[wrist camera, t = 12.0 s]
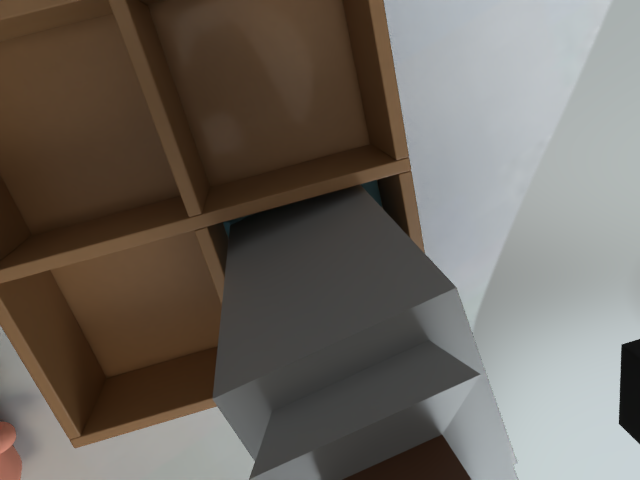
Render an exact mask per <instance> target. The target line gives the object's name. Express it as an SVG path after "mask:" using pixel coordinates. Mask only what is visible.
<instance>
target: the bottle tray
mask: <svg viewBox="0 0 640 480" xmlns="http://www.w3.org/2000/svg"><path fill="white" fill-rule="evenodd" d="M410 170H411V166H410V160H409V154H408V148H407V142H406V136H405V129H404V123H403V117H402V111H401V105H400V99H399V93H398V87H397V81H396V74H395V68H394V62H393V56H392V50H391V44H390V38H389V32H388V26H387V20H386V13H385V7H384V1H383V0H0V325H1V327H2V328H3V330H4V332H5V333H6V335H7V337H8V338H9V340H10V342H11V343H12V345H13V347H14V348H15V350H16V352H17V353H18V355H19V357H20V358H21V360H22V362H23V363H24V365H25V367H26V368H27V370H28V372H29V373H30V375H31V377H32V378H33V380H34V382H35V383H36V385H37V387H38V388H39V390H40V392H41V393H42V395H43V397H44V398H45V400H46V402H47V403H48V405H49V407H50V408H51V410H52V412H53V413H54V415H55V417H56V418H57V420H58V422H59V423H60V425H61V427H62V428H63V430H64V432H65V433H66V435H67V437H68V438H69V439H70V442H71V443H72V445H73V447H74V448H78V447H81V446H85V445H88V444H91V443H95V442H98V441H101V440H105V439H108V438H112V437H115V436H118V435H122V434H125V433H128V432H132V431H135V430H139V429H142V428H145V427H149V426H152V425H156V424H159V423H162V422H166V421H169V420H172V419H176V418H179V417H183V416H186V415H189V414H193V413H196V412H199V411H203V410H206V409H210V408H213V407H216V406H217V405H216V404H215V402H214V401H213V399H212V398H213V389H214V379H215V369H216V359H217V349H218V339H219V329H220V319H221V310H222V300H223V290H224V280H225V270H226V260H227V250H228V240H229V231H230V225H232V224H234V223H236V222H238V221H240V220H243V219H245V218H247V217H249V216H251V215H253V214H256V213H258V212H262V211H266V210H269V209H273V208H276V207H280V206H284V205H287V204H291V203H295V202H298V201H302V200H305V199H309V198H313V197H316V196H320V195H324V194H327V193H331V192H334V191H338V190H342V189H345V188H349V187H353V186H356V185H361V186H362V187H363V188H364V189H365V190H366V191H367V192H368V193H369V195H370V196H371V197H372V198H373V199H374V200H375V201H376V202H377V203H378V204H379V205H380V206H381V207H382V208H383V210H384V211H385V212H386V213H387V214H388V215H389V216H390V217H391V218H392V219H393V220H394V221H395V222H396V223H397V225H398V226H399V227H400V228H401V229H402V230H403V231H404V232H405V233H406V234H407V235H408V236H409V237H410V238H411V240H412V241H413V242H414V243H415V244H416V245H417V246H418V247H419V248H420V249H421V250H422V251H423V252H424V253H425V251H424V245H423V239H422V233H421V227H420V221H419V215H418V209H417V202H416V196H415V190H414V184H413V178H412V172H411V171H410Z"/></svg>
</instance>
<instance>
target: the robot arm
mask: <svg viewBox="0 0 640 480" xmlns="http://www.w3.org/2000/svg"><path fill="white" fill-rule="evenodd" d="M619 409H620V410H619V424H620V425H621V426H622V427H623V428H624V429H625V430H626V431H627V432H628V433H629V434H630V435H631V436H632V437H633V438H634V439H635V440H636V441H637V442H638V443H639V444H640V339H639V340H635V341H632V342H629V343H625V344H623V345H622V351H621V378H620V408H619Z"/></svg>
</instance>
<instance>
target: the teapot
mask: <svg viewBox="0 0 640 480" xmlns="http://www.w3.org/2000/svg"><path fill="white" fill-rule="evenodd" d="M15 439H16V431H15V428H14V427H13V426H12V425H11V424H10V423H7V422H0V480H20V478H21V470H22V461H21V458H20V456H19V454H18V453H17V451H16V449H15V448H14V446H13V445H12V444H13V443H14V441H15Z"/></svg>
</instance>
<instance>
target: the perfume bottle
mask: <svg viewBox="0 0 640 480" xmlns="http://www.w3.org/2000/svg"><path fill="white" fill-rule="evenodd" d="M212 399H213V401H214V402H215V404H216V405H217V406H218V408H219V409H220V411H221V412H222V414H223V415H224V417H225V418H226V420H227V421H228V423H229V424H230V425H231V427H232V428H233V430H234V431H235V433H236V434H237V436H238V437H239V439H240V440H241V442H242V443H243V444H244V446H245V447H246V449H247V450H248V452H249V453H250V455H251V456H252V458H253V459H254V461H255V464H254V467H253V470H252V473H251V475H250V478H249V480H518V477H517V474H516V471H515V468H514V466H513V465H515V464H517V463H518V462H517V459H516V456H515V454H514V451H513V448H512V445H511V442H510V439H509V436H508V434H507V431H506V428H505V425H504V422H503V419H502V417H501V414H500V411H499V408H498V405H497V403H496V399H495V397H494V394H493V391H492V388H491V385H490V382H489V379H488V376H487V374H486V371H485V368H484V365H483V362H482V359H481V357H480V354H479V351H478V348H477V345H476V342H475V340H474V336H473V334H472V331H471V328H470V325H469V322H468V319H467V316H466V314H465V311H464V308H463V305H462V302H461V299H460V296H459V294H458V291H457V288H456V287H455V286H454V284H453V283H452V282H451V281H450V280H449V279H448V278H447V277H446V276H445V275H444V274H443V273H442V272H441V271H440V270H439V268H438V267H437V266H436V265H435V264H434V263H433V262H432V261H431V260H430V259H429V258H428V257H427V256H426V255H425V253H424V252H423V251H422V250H421V249H420V248H419V247H418V246H417V245H416V244H415V243H414V242H413V241H412V240H411V238H410V237H409V236H408V235H407V234H406V233H405V232H404V231H403V230H402V229H401V228H400V227H399V226H398V225H397V223H396V222H395V221H394V220H393V219H392V218H391V217H390V216H389V215H388V214H387V213H386V212H385V211H384V210H383V208H382V207H381V206H380V205H379V204H378V203H377V202H376V201H375V200H374V199H373V198H372V197H371V196H370V195H369V193H368V192H367V191H366V190H365V189H364V188H363V187H362V186H361V185H356V186H353V187H349V188H345V189H342V190H338V191H334V192H331V193H327V194H324V195H320V196H316V197H313V198H309V199H305V200H302V201H298V202H295V203H291V204H287V205H284V206H280V207H276V208H273V209H269V210H266V211H262V212H258V213H256V214H253V215H251V216H249V217H247V218H245V219H243V220H240V221H238V222H236V223H234V224H232V225H230V231H229V240H228V250H227V260H226V270H225V280H224V290H223V300H222V310H221V319H220V329H219V339H218V349H217V359H216V369H215V379H214V389H213V398H212Z"/></svg>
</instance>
